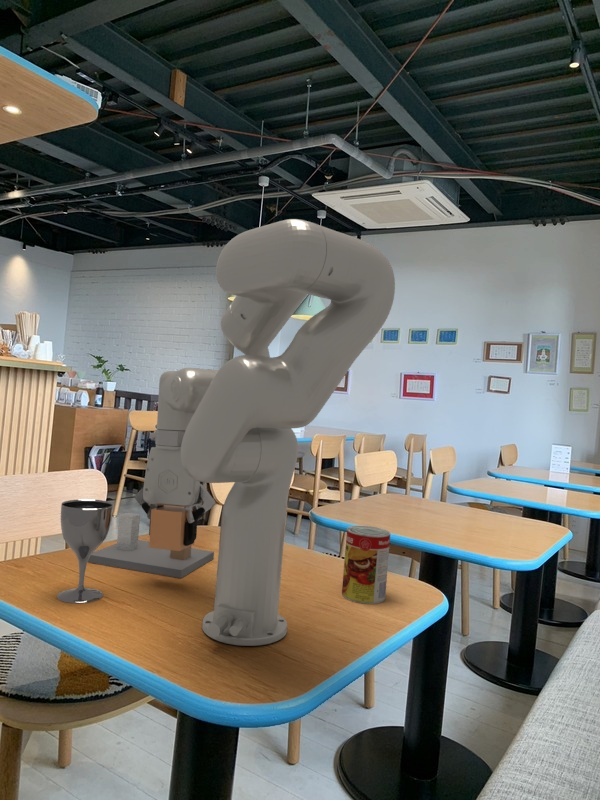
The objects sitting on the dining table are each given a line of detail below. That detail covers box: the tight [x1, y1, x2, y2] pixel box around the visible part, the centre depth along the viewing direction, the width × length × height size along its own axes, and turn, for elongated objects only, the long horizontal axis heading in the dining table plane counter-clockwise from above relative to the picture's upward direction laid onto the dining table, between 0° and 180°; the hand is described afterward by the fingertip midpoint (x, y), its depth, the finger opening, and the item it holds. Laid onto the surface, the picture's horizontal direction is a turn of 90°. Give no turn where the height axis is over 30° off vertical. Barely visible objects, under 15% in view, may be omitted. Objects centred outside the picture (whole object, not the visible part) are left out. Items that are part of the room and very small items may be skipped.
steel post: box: [116, 512, 141, 551], centre depth 120 cm, size 3×3×7 cm
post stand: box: [87, 539, 215, 579], centre depth 118 cm, size 15×20×8 cm
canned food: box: [341, 525, 391, 605], centre depth 107 cm, size 8×8×12 cm
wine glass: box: [56, 498, 114, 604], centre depth 96 cm, size 8×8×15 cm
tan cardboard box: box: [149, 505, 195, 551], centre depth 104 cm, size 6×6×7 cm
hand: (172, 541), depth 104 cm, fingers closed on tan cardboard box, 5 cm apart
